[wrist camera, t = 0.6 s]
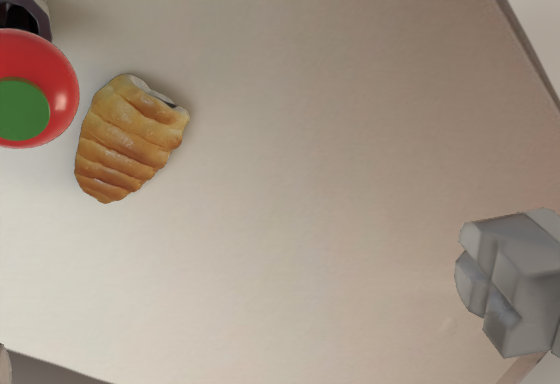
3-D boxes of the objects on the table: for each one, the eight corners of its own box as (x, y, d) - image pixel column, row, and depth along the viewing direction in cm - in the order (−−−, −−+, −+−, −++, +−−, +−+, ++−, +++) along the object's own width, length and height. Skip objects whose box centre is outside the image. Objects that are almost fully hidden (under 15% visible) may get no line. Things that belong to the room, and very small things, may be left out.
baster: (-37, 12, 30) (-99, 117, 14) (10, -38, 30) (0, 14, 14) (24, 61, 32) (28, 194, 17) (69, 15, 32) (113, 107, 17)
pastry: (132, 207, 40) (139, 228, 37) (48, 172, 36) (48, 192, 33) (191, 107, 39) (204, 119, 35) (110, 60, 35) (117, 70, 32)
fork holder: (-28, -6, 30) (-52, 5, 23) (32, -26, 31) (29, -22, 24) (4, 51, 32) (-8, 78, 25) (60, 30, 33) (66, 51, 25)
